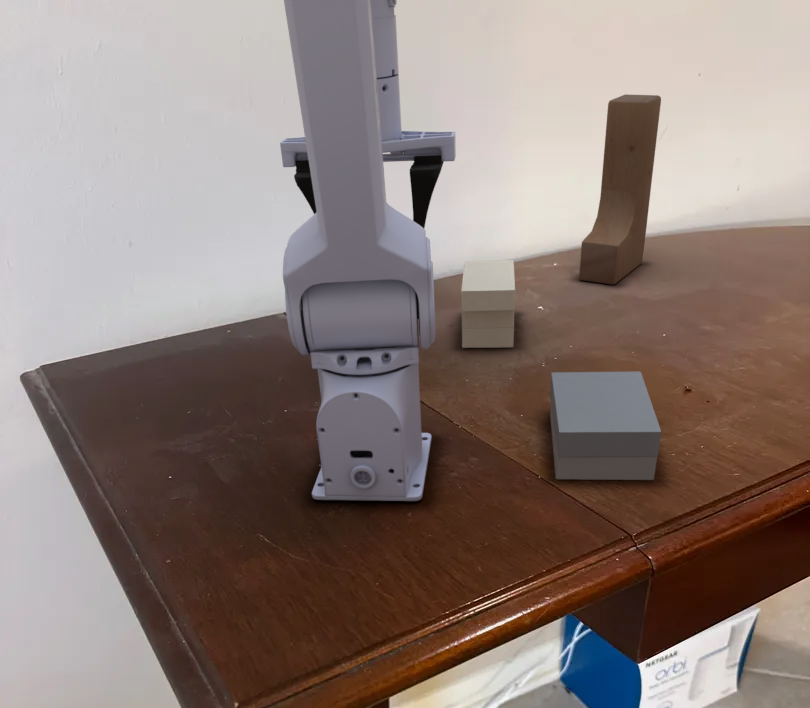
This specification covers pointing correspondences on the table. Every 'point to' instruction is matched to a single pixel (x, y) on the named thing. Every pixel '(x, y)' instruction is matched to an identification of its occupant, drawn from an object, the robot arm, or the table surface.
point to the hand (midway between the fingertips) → (375, 249)
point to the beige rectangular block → (488, 286)
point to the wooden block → (623, 190)
